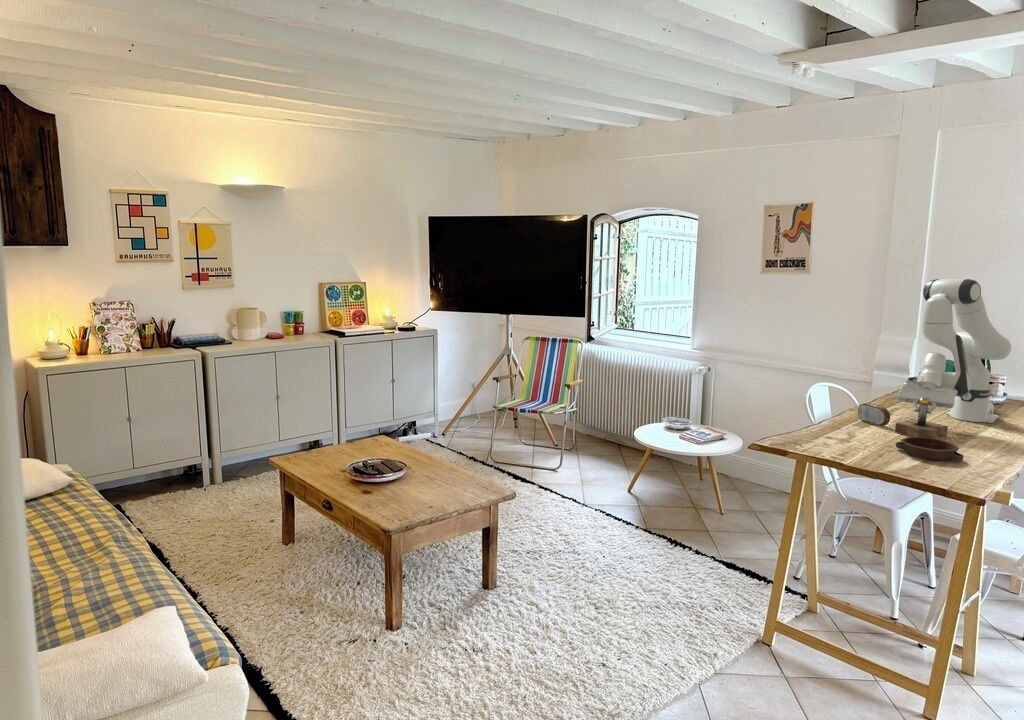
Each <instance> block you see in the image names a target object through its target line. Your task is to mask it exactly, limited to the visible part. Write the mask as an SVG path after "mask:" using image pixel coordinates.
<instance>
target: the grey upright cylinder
mask: <svg viewBox="0 0 1024 720" xmlns="http://www.w3.org/2000/svg"><path fill="white" fill-rule="evenodd" d="M929 406H930V405H929V398H924V397H921V398H920V403H919V412H917V413H918V414H917V415H918V416H917V420H918V421H917V425H919V426H924V427H925V426H926V422H927V416H928V413H927V409H928V408H929Z"/></svg>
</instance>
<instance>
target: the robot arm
mask: <svg viewBox="0 0 1024 720" xmlns="http://www.w3.org/2000/svg"><path fill="white" fill-rule="evenodd" d="M922 295H923V298H924V301H925V305H924V306H923V307H924V308H923V314H922V320H921V321H922V324H921V325H922V326H921V328H922V329H921V330H922V334H923V336H924V338H926V340H928V341H929V342H930V343H933V344H935V345H937V346H941V347H943V348H946V349H947V350H948V351H950V352H951V354H952V356H953V361H954V364H955V370H956V372H954V373H951V372H945V366H946V360H947V359H946V356H945V355H944V354H942V353H940V352H928V353H926V355H924V357H923V359H922V363H921V366H920V371H919V374H918V375H917V376H909V377H905V379H904V383H902V384H901V386H900V388H899V390H898V393H897V399H898V401H899V402H904V403H909V404H912V405H913V407H914V412H915V413H919V406H918V404H919V403H920V398H921V397H924V398H929V405H928V406H930V407H928V409H927V414H930V415H931V414H932V412H933V411H934V410H935V409H936V408H937V407H938V408H944V409H945V408H947V409H949V411H946V415H947V414H948V415H947V416H950V417H951V418H952V419H957V420H960V421H966V422H972V423H973V422H975V423H987V422H988V423H989V424H993V423H995V420H996V419H997V418H998V417H1000V416H999V415H997V414H994V404H993V402H992V400H991V399H990V394H992V389H991V388H989V385H990V379H991V372H990V370H989V369H988V368H987V367H985V365H984V364H983V362H982V360H990V361H999V360H1001V361H1002V360H1004V359H1006V358H1007V357H1008V356H1009V355H1010V354H1011V352H1012V344H1011V341H1010V340H1009V339H1008V338H1007V337H1005V336H1004V335H1002V334H1001V333H999V331H998V330H997V329H996V328H995V327H994V326H993V324H992V323H991V321H990V319H989V317H988V313H987V310H986V306H985V301H984V299H983V296H982V288H981V285H980V284H979V283H978V281H977V280H975V279H970V278H967V279H963V278H956V277H955V278H942V279H939V278H937V279H936V278H935V279H932V280H929V281H927V282H926V283H925V284H924V285H923V289H922ZM953 309H954V314H955V317H956V321H957V324H958V327H960V329H962V330H963V331H958V332H957V331H955V329H954V325H953V324H954V314H953ZM919 405H920V404H919ZM998 419H999V418H998ZM998 419H997V420H998ZM997 420H996V421H997Z"/></svg>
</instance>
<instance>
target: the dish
mask: <svg viewBox="0 0 1024 720" xmlns="http://www.w3.org/2000/svg"><path fill="white" fill-rule="evenodd" d="M895 447H896V448H897V449H899V450H903V451H905V452H906V453H907V454H909V455H910V456H912V457H913V456H914V457H915V456H916V458H918V457H919V459H923V460H929V461H936V460H937V461H938V462H941V461H942V462H944V461H947V462H948V461H949V460H955V461H963V459H964V457H965V456H964V455H963V454H961V453H959V452H958V451H959V450H960V448H959V446H957V445H956V444H954V443H952V442H949V441H946V440H941V439H939V438H938V439H933V438H924V437H912V436H909V437H905V438H902V439H900V441H897V442H895Z"/></svg>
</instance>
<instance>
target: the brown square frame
mask: <svg viewBox="0 0 1024 720" xmlns="http://www.w3.org/2000/svg"><path fill="white" fill-rule="evenodd" d="M917 421H918V419H915V418H911V419H906V420H902V421H899V422H896V423H895V429H894V433H895V432H897V433H896V434H899V433H901V434H900V435H903V434H906V435H905V436H908V435H910V436H909V437H912V436H914V437H924V438H933V439H938V440H939V439H941V438H944V437H946V436H947V435H948V427H949V426H948V425H943V424H938V423H935V422H928V421H926V426H925V427H924V426H919V425H917Z"/></svg>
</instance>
